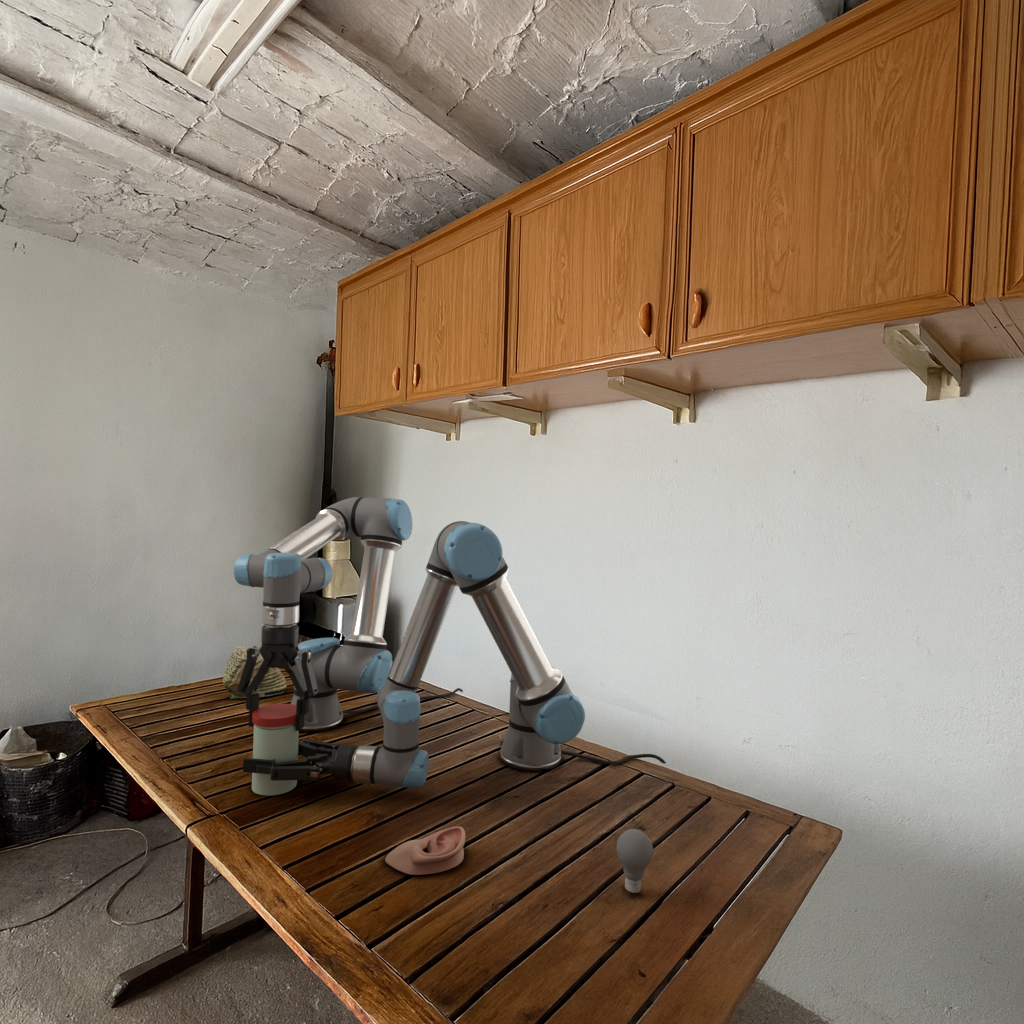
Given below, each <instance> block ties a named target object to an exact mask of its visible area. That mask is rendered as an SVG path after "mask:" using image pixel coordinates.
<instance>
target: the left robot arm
mask: <svg viewBox="0 0 1024 1024" xmlns="http://www.w3.org/2000/svg"><path fill="white" fill-rule="evenodd" d="M412 533H413V517H412V512H411V509H410V506H409V504H408V503H407V502H406V501H405V500H403V499H397V498H391V497H366V496H365V497H364V496H353V497H348V498H346V499H342V500H340V501H337V502H335V503H333V504H330V505H329V506H327V507H325V508H324V509H322V510H320V511H319V512H317V514H316V516H315V519H312V520H311V521H310V522H308V523H306V524H305V525H303V526H302V527H300V528H299V529H297V530H295V531H294V532H292V533H290V534H288V535H287V536H285V537H284V538H282V539H281V540H279V541H277V542H275V544H273V545H272V546H270V547H268V548H267V549H265V550H263V551H261V552H260V553H258V554H254V553H250V554H241V555H240V556H239V557H237V559H236V560H235V563H234V565H233V577H234V580H235V581H236V582H237V584H239V585H241V586H246V587H251V588H263V589H262V590H263V593H262V594H263V597H262V598H263V599H262V611H261V612H262V615H261V616H262V617H261V623H262V624H263V626H262V627H261V637H260V639H261V641H260V642H261V646H260V647H257V646H256V645H254V646H251V647H248V648H249V649H247V660H246V663H245V666H244V670H243V673H242V676H241V679H240V682H239V685H238V689H237V690H238V692H242V693H244V694H245V695H246V698H245V709H246V711H248V727H249V728H254V724H253V722H252V713H253V711H254V710H255V709H257V708H259V707H260V697H259V693H255V692H256V691H257V688H258V687H259V685H260V684H261V682H262V680H263V679H264V677H265V675H266V674H267V672H268V670H269V669H270V668H278V669H279V670H284V671H285V672H286V673H287V674H288V676H289V678H290V680H291V682H292V684H293V695H292V696H293V697H292V699H291V702H290V704H293V705H297V706H296V731H299V732H301V733H316V732H325V731H329V730H332V729H335V728H337V727H339V726H340V725H342V723H343V722H344V715H345V714H360V713H365V712H368V711H371V710H374V709H377V708H379V707H378V705H377V704H375V705H372V706H369V707H366V708H363V709H356V710H352V709H351V710H343V709H342V706H341V702H340V699H339V695H338V690H342V691H350V692H357V693H359V694H376V693H378V691H379V689H380V687H381V686H382V685H383V684H384V683H385V682H386V680H387V677H388V675H389V672H390V669H391V667H392V664H393V654H392V652H390V651H389V650H388V649H387V647H388V643H387V642H386V640H385V638H384V637H383V636H384V631H385V622H386V616H387V611H388V610H387V608H388V603H389V596H390V589H391V584H392V583H391V582H392V576H393V570H394V563H395V556H396V552H398V551H399V550H400V549H402V546H403V541H406V540H408V539H410V537H411V535H412ZM351 537H352V538H353V537H355V538H360V543H361V545H362V546H363V548H364V552H363V558H362V563H361V570H360V576H359V582H358V588H357V595H356V600H355V607H354V612H353V618H352V623H351V624H352V625H351V630H350V634H349V635H348V636H346V637H345V638H344V639H343V645H340V644H341V641H340V639H339V638H337V637H320V638H319V637H318V638H313V639H307V640H304V641H302V642H299V629H300V627H299V625H298V623H300V598H301V594H304V593H309V592H316V591H319V590H321V589H324V588H326V587H327V586H329V585H330V583H331V582H332V580H333V575H334V572H333V567H332V565H331V563H329V561H328V560H326V559H325V558H322V557H311V556H313V555H314V554H315V553H317V552H318V551H319V550H321V549H323V548H324V547H325V546H327V545H328V544H330V543H331V542H338V541H340V540H342V539H343V538H351ZM298 642H299V643H298ZM259 654H261V656H262V657H263V659H264V661H263V662H262V664H261V666H260V669H259V670H258V672H257V674H256V675H255V677H254V679H253V680H252V682H251V684H250V685H249V683H250V680H251V677H252V674H253V671H254V668H255V664H256V661H257V657H258V656H259ZM457 692H460V693H463V692H464V690H463V689H462V688H460V687H457V688H456V689H454V690H453V691H452V692H449V693H443V694H435V695H427V696H419V697H420V701H421V700H428V699H429V700H430V699H438V698H444V697H450V696H453V695H454V694H456V693H457Z"/></svg>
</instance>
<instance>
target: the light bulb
mask: <svg viewBox="0 0 1024 1024" xmlns="http://www.w3.org/2000/svg"><path fill="white" fill-rule="evenodd" d="M615 849H616V854H617V857H618V859H619V861H620V863H621V865H622V867H623V873H624V874H623V875H624V876H625V878H624V888H625V890H627V891H628V892H630V893H634V894H635V893H639V892H640V891H641V889H642V887H641V886H642V879H643V877H644V875H645V871H646V868H647V867H648V866H649V864H650V863H651V861H652V859H653V855H654V847H653V843H652V841H651V838H649V836H648V835H647V834H646V833H645V832H643V831H642V830H641V829H636V828H629V829H627V830H625V831H623V832H622V833H621V834H620V835H619V837H618V839H617V841H616V847H615Z"/></svg>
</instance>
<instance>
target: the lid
mask: <svg viewBox="0 0 1024 1024" xmlns="http://www.w3.org/2000/svg"><path fill="white" fill-rule="evenodd" d="M296 706H297V705H293V704H291V703H272V704H265V705H262V706H259V708H257V709H255V710H254V711H253V713H252V722H253V724H255V725H257V726H261V727H283V726H288V725H291V724H294V723H296Z"/></svg>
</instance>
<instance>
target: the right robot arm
mask: <svg viewBox="0 0 1024 1024" xmlns="http://www.w3.org/2000/svg"><path fill="white" fill-rule="evenodd" d="M434 541H435V542H434V544H433V547H432V549H431V553H430V556H429V558H428V560H427V561H428V562H427V564H426V566H425V571H426V573H427V575H426V578H425V581H424V583H423V585H422V588H421V591H420V593H419V596H418V598H417V601H416V604H415V607H414V609H413V611H412V614H411V617H410V619H409V622H408V624H407V626H406V629H405V631H404V634H403V637H402V639H401V642H400V645H399V647H398V649H397V652H396V655H395V657H394V659H393V661H392V667H391V669H390V672H389V675H388V677H387V680H386V682H385V683H384V684H383V685H382V686H381V687H380V689H379V691H378V692H377V695H376V696H377V697H376V705H378V707H377V708H378V709H379V713H380V715H381V719H382V723H383V741H382V746H378V745H377V746H376V745H365V744H364V745H363V744H361V745H357V744H347V743H342V744H341V743H331V742H327V741H321V740H315V739H311V738H303V739H302V741H301V740H298V757H300V756H301V757H304V759H298V760H295V761H286V762H277V763H275V759H273V760H265V759H253V757H244V758H243V763H242V772H243V773H249V774H252V773H261V774H271V780H272V781H279V780H297V781H314V782H318V781H320V780H321V775H327V774H331V775H332V777H333V779H334V780H335V782H342V783H352V782H354V783H356V784H365V785H366V786H370V785H378V786H390V787H397V788H402V789H404V788H411V789H412V788H413V789H414V788H421V787H423V786H424V785H425V783H426V781H427V777H428V773H429V766H430V758H429V756H430V755H429V753H428V751H427V750H423V749H421V748H420V745H419V743H420V742H419V736H420V721H421V720H420V719H421V718H420V717H421V712H422V710H421V700H420V697H421V696H420V695H419V694H418V693H417V692H418V689H419V685H420V682H421V680H422V678H423V676H424V673H425V670H426V667H427V665H428V663H429V660H430V658H431V655H432V653H433V650H434V648H435V646H436V645H435V644H436V642H437V641H438V638H439V635H440V633H441V629H442V627H443V624H444V623H445V619H446V617H447V614H448V612H449V609H450V607H451V604H452V602H453V599H454V596H455V593H456V591H457V589H458V588H459V590H460V593H461V594H463V595H466V596H469V597H471V598H472V599H473V603H474V604H475V606H476V608H477V610H478V611H479V614H480V616H481V617H482V619H483V621H484V623H485V625H486V627H487V629H488V631H489V633H490V635H491V637H492V639H493V640H494V642H495V644H496V647H497V648H498V650H499V652H500V654H501V656H502V658H503V659H504V662H505V663H506V666H507V667H508V669H509V671H510V673H511V675H510V680H509V683H510V684H509V685H510V686H509V687H510V688H509V710H508V711H509V712H508V714H509V715H508V727H507V730H506V733H505V736H504V738H503V739H502V740H499V745H498V747H500V750H499V751H500V752H499V758H500V761H501V762H502V763H503V764H505V765H506V766H507V767H510V768H513V769H516V770H520V771H527V772H542V771H543V772H544V771H549V770H552V769H554V768H557V767H558V766H559V765H560V764H561V762H562V755H566V756H570V757H574V758H578V759H583V760H587V761H591V762H596V763H598V764H602V765H608V766H609V765H610V766H614V765H615V766H616V765H620V764H623V763H625V762H626V761H628V760H633V759H634V760H635V759H643V758H652V759H655V760H657V761H659V762H660V763H661V764H667V761H665V760H664V759H663V758H662V757H661V756H659V755H657V754H653V753H639V754H629V755H626V756H624V757H622V758H621V759H618V760H605V759H601V758H597V757H594V756H590V755H585V754H581V753H577V752H573V751H567V750H562V749H561V745H564V744H567V743H568V742H570V741H572V740H573V739H575V738H576V737H577V736H578V734H580V732H581V730H582V729H583V726H584V723H585V720H586V710H585V706H584V704H583V703H582V701H581V699H580V698H579V697H578V696H576V695H575V694H574V693H573V692H572V690H571V688H570V686H569V684H568V682H567V680H566V678H565V677H564V675H563V673H562V671H561V670H560V669H557V668H555V667H554V666H551V663H550V661H549V660H548V658H547V655H546V654H545V652H544V650H543V648H542V646H541V644H540V642H539V640H538V638H537V637H536V634H535V632H534V630H533V628H532V627H531V625H530V622H529V621H528V618H527V616H526V615H525V612H524V611H523V609H522V607H521V604H520V603H519V601H518V599H517V597H516V595H515V593H514V591H513V589H512V587H511V585H510V583H509V581H508V579H507V576H508V573H509V570H510V568H509V566H508V564H507V562H506V560H505V558H504V556H503V554H504V553H503V552H504V551H503V545H502V543H501V541H500V539H499V536H498V535H497V534H496V533H495V532H494V531H493V530H492V529H490V528H489V527H487V526H486V525H484V524H481V523H478V522H470V521H464V520H458V521H453V522H451V523H449V524H447V525H445V526H444V527H443V528H442V529H441V530H440V532H439V533H438V534H437V537H436V539H435V540H434Z"/></svg>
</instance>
